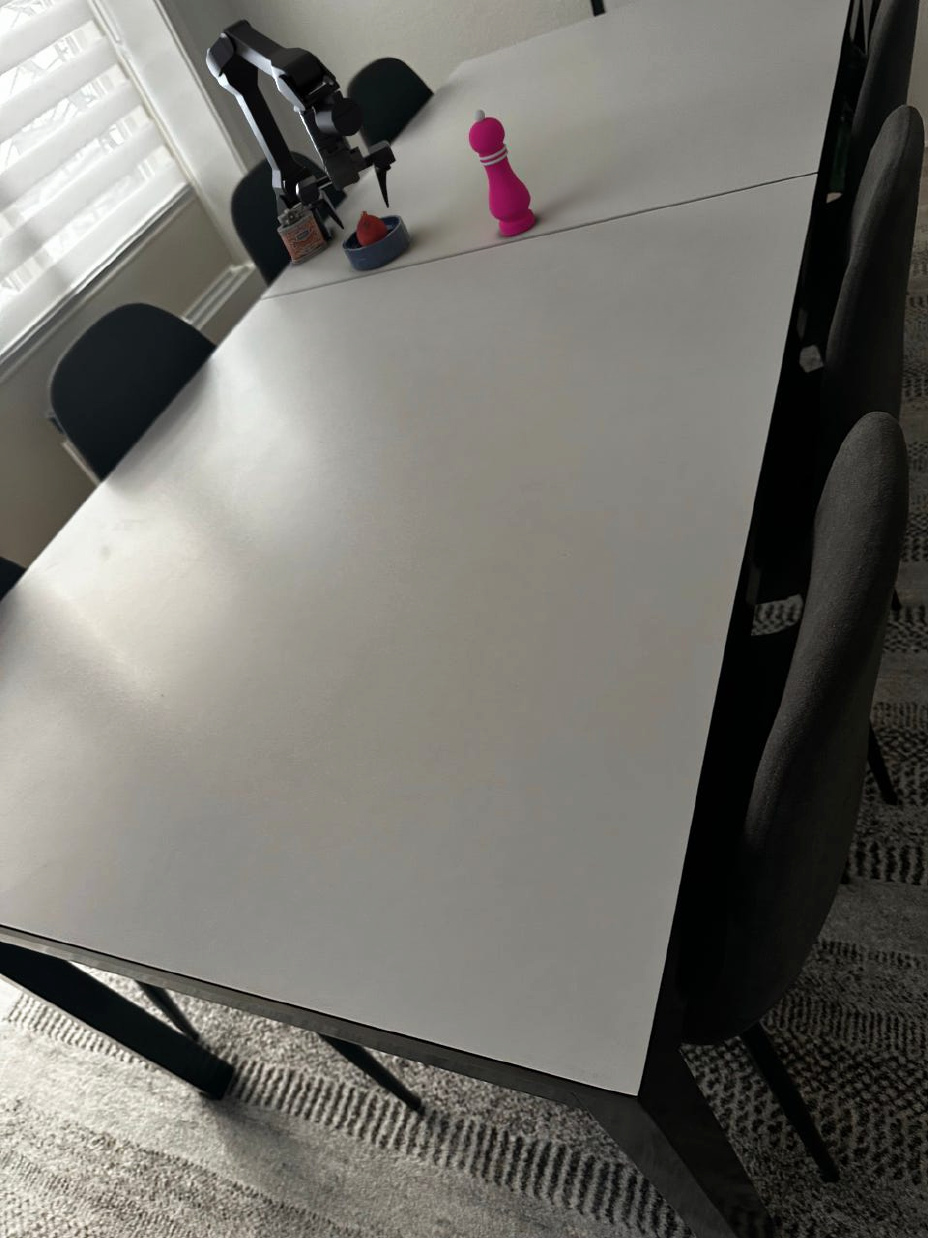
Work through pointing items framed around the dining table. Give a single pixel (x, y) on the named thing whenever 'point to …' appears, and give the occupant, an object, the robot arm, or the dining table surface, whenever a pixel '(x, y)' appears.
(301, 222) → the lighter
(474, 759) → the dining table surface
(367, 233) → the onion
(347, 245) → the bowl
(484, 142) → the pepper mill
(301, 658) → the dining table surface
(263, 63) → the robot arm
